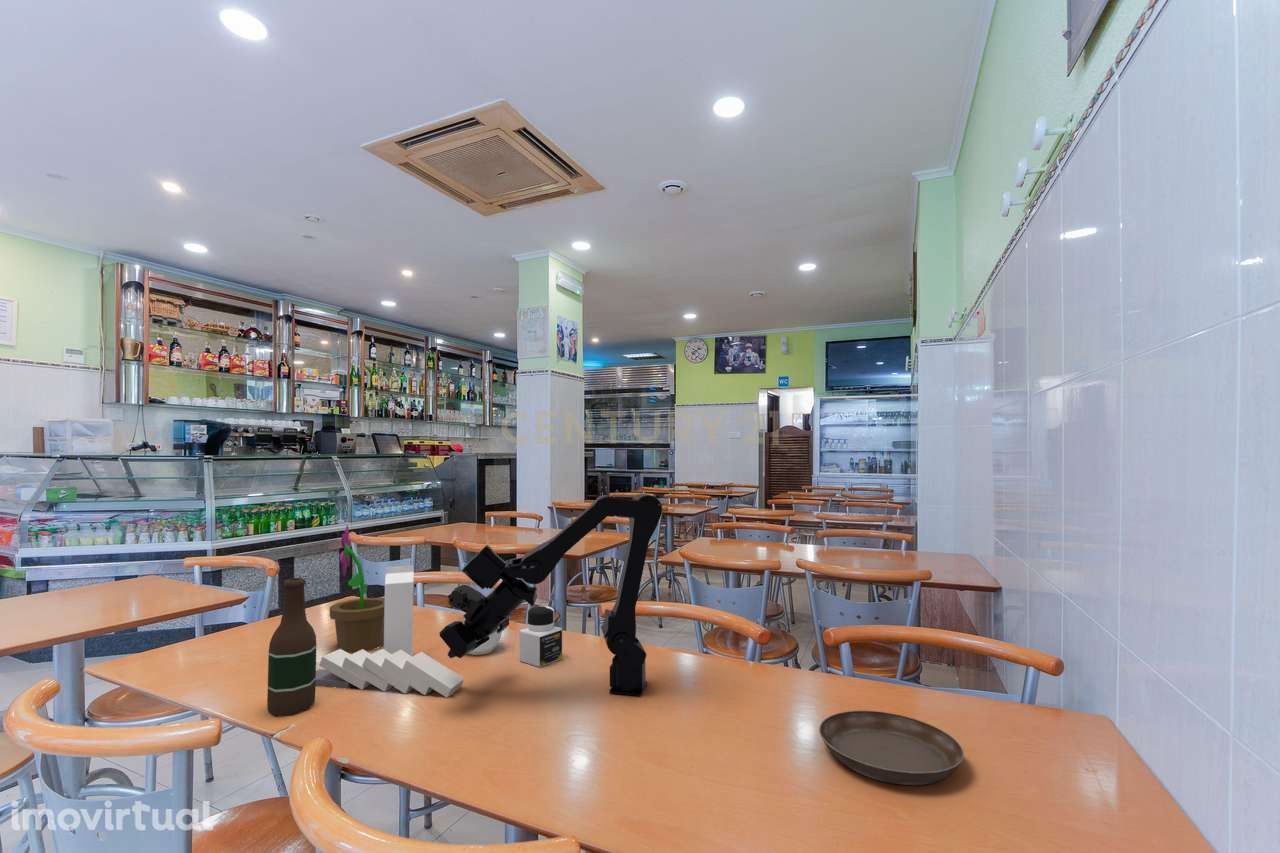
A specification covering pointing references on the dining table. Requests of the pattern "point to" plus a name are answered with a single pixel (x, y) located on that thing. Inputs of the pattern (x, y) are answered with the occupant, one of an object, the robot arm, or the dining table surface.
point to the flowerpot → (357, 611)
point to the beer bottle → (292, 656)
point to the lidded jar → (486, 646)
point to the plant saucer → (891, 747)
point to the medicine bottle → (540, 638)
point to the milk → (399, 609)
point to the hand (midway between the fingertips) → (449, 656)
